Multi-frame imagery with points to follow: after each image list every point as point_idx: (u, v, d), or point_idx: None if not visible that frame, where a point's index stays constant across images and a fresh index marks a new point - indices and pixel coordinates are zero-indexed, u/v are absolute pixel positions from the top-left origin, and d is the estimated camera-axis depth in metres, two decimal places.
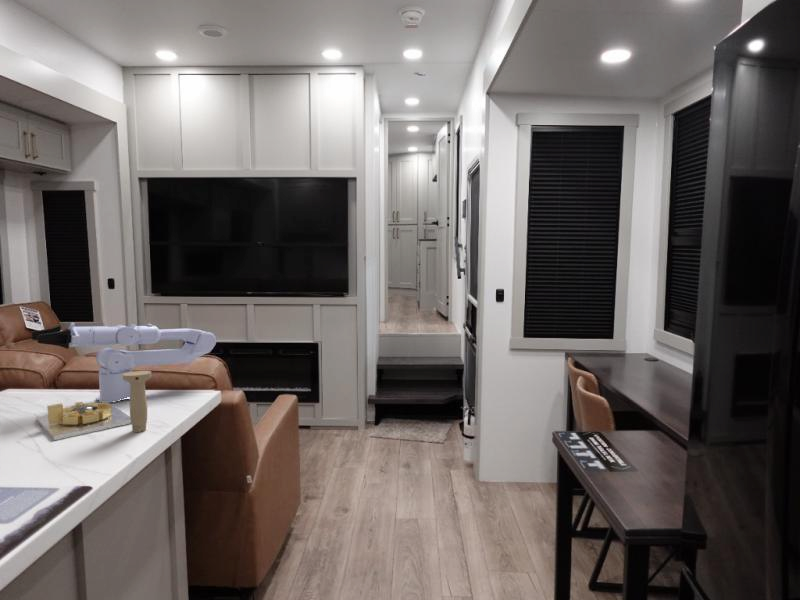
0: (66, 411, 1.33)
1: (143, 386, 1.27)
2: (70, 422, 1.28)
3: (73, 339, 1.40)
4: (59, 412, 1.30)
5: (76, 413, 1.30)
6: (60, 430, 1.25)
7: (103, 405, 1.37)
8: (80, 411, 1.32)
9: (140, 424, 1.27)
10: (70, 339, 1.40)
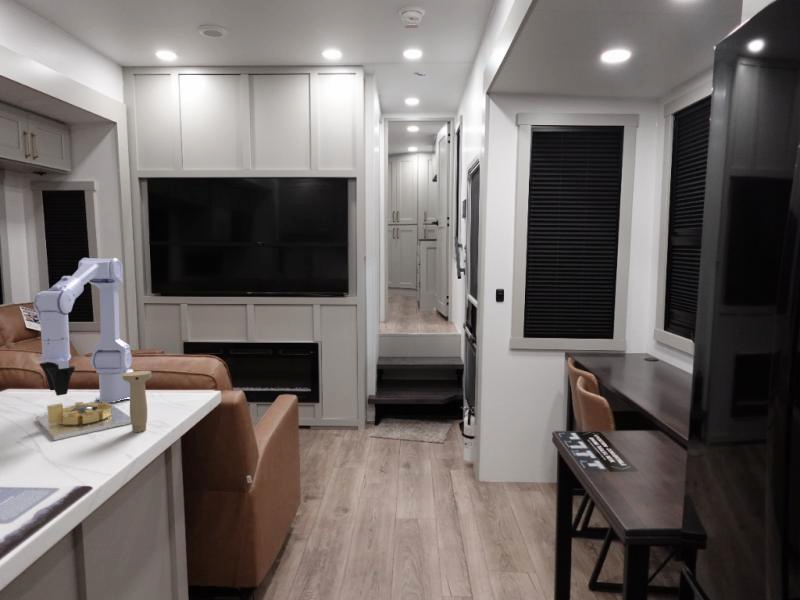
0: (66, 411, 1.33)
1: (143, 386, 1.27)
2: (70, 422, 1.28)
3: (63, 367, 1.20)
4: (59, 412, 1.30)
5: (76, 413, 1.30)
6: (60, 430, 1.25)
7: (103, 405, 1.37)
8: (80, 411, 1.32)
9: (140, 424, 1.27)
10: (63, 368, 1.21)
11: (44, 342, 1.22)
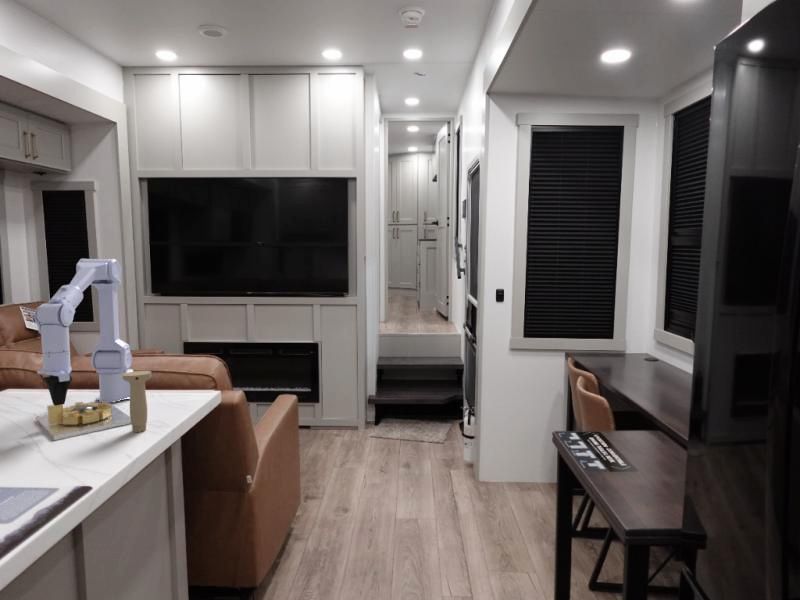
0: (66, 411, 1.33)
1: (143, 386, 1.27)
2: (70, 422, 1.28)
3: (64, 380, 1.20)
4: (59, 412, 1.30)
5: (76, 413, 1.30)
6: (60, 430, 1.25)
7: (103, 405, 1.37)
8: (80, 411, 1.32)
9: (140, 424, 1.27)
10: (64, 381, 1.21)
11: (45, 355, 1.22)
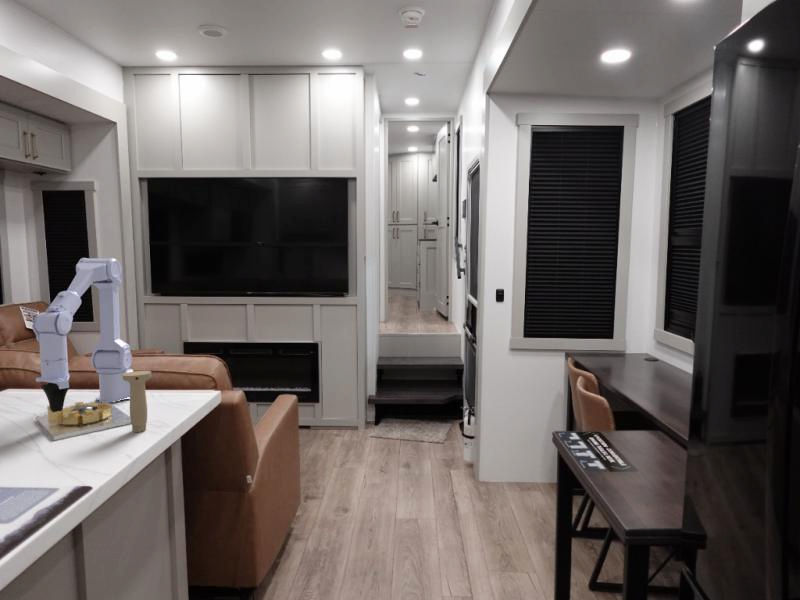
0: (66, 411, 1.33)
1: (143, 386, 1.27)
2: (70, 422, 1.28)
3: (64, 387, 1.23)
4: (59, 412, 1.30)
5: (76, 413, 1.30)
6: (60, 430, 1.25)
7: (103, 405, 1.37)
8: (80, 411, 1.32)
9: (140, 424, 1.27)
10: None
11: (43, 363, 1.25)
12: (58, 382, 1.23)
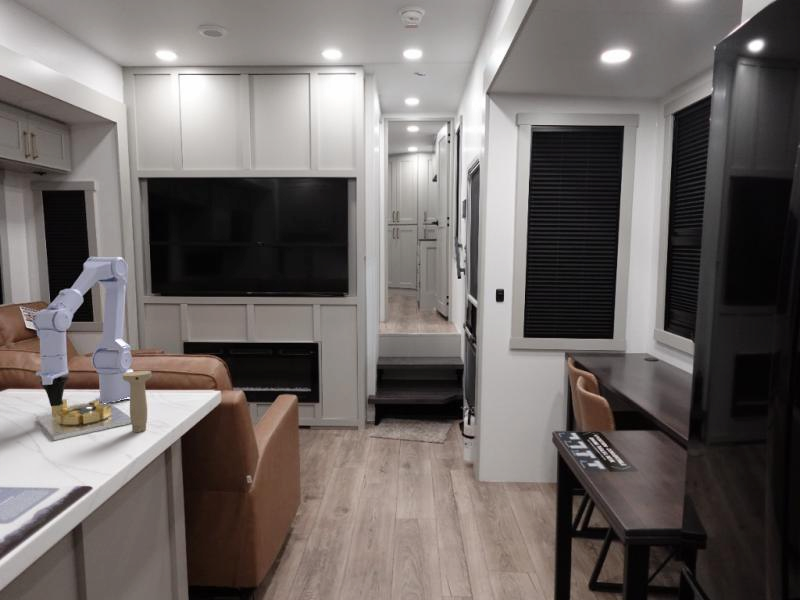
0: (73, 407, 1.36)
1: (143, 386, 1.27)
2: (58, 420, 1.30)
3: (46, 383, 1.25)
4: (60, 408, 1.33)
5: (65, 412, 1.30)
6: (60, 430, 1.25)
7: (99, 409, 1.34)
8: (80, 411, 1.32)
9: (140, 424, 1.27)
10: (48, 384, 1.26)
11: None
12: (42, 378, 1.25)
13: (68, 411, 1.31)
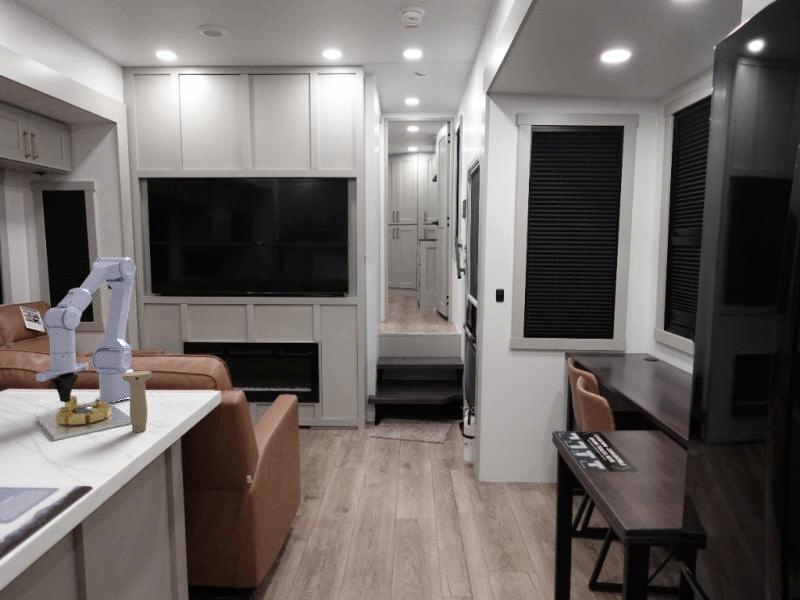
0: (82, 405, 1.38)
1: (143, 386, 1.27)
2: None
3: (39, 380, 1.28)
4: (69, 404, 1.36)
5: (63, 410, 1.32)
6: (60, 430, 1.25)
7: (90, 411, 1.31)
8: (80, 411, 1.32)
9: (140, 424, 1.27)
10: None
11: None
12: None
13: (66, 409, 1.32)
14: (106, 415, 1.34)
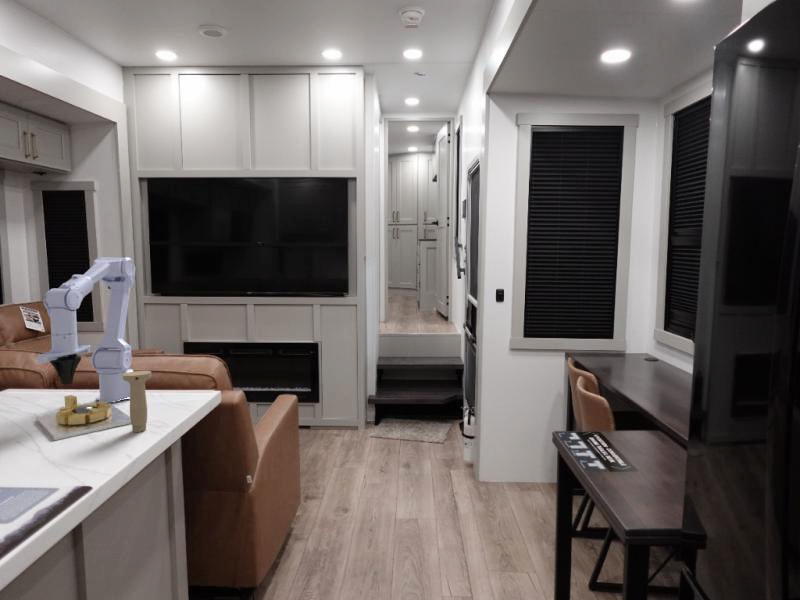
0: (82, 405, 1.38)
1: (143, 386, 1.27)
2: None
3: (40, 361, 1.26)
4: (69, 404, 1.36)
5: (63, 410, 1.32)
6: (60, 430, 1.25)
7: (90, 411, 1.31)
8: (80, 411, 1.32)
9: (140, 424, 1.27)
10: (44, 362, 1.27)
11: None
12: None
13: (66, 409, 1.32)
14: (106, 415, 1.34)
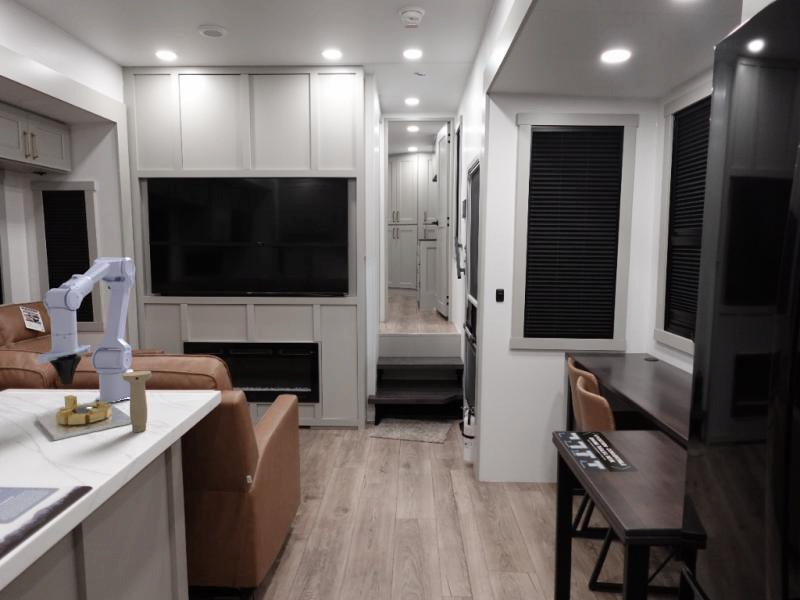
0: (82, 405, 1.38)
1: (143, 386, 1.27)
2: None
3: (40, 361, 1.26)
4: (69, 404, 1.36)
5: (63, 410, 1.32)
6: (60, 430, 1.25)
7: (90, 411, 1.31)
8: (80, 411, 1.32)
9: (140, 424, 1.27)
10: (44, 362, 1.27)
11: None
12: None
13: (66, 409, 1.32)
14: (106, 415, 1.34)
